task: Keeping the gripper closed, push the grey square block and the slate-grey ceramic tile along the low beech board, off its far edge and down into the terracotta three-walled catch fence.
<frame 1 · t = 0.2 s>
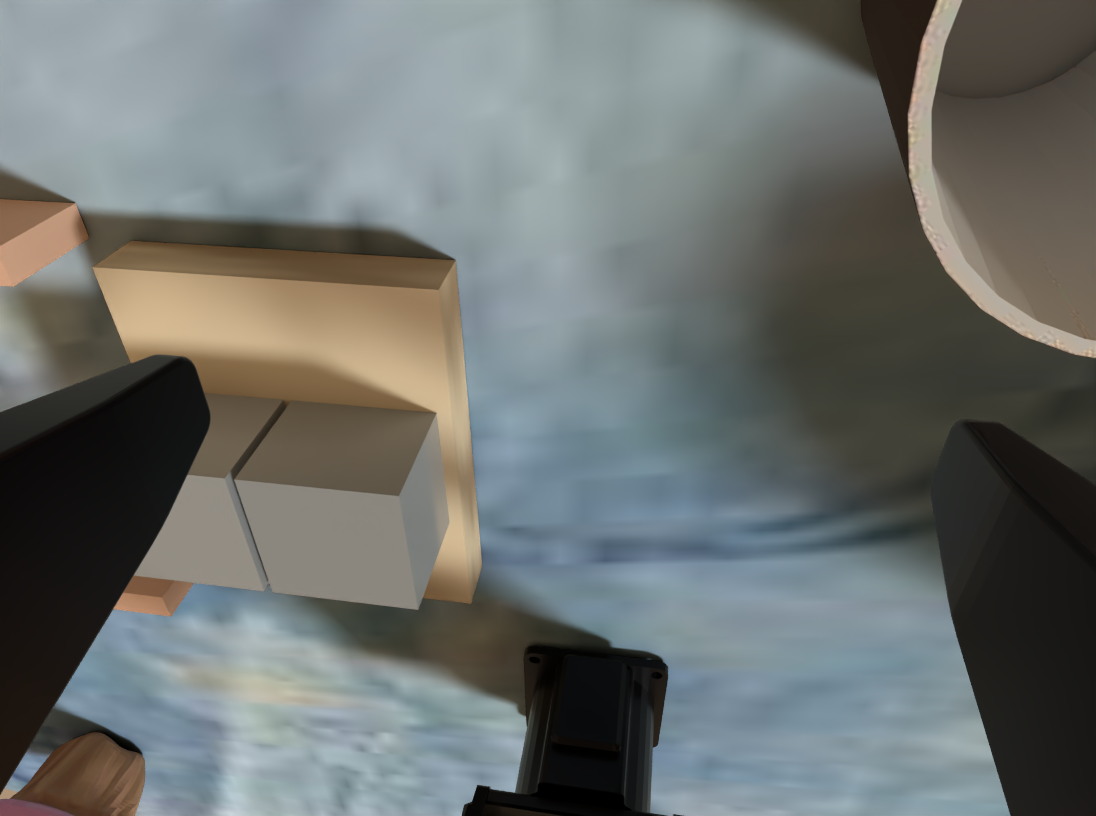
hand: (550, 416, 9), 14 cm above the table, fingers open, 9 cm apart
tile b: (232, 450, 27), point 2 cm above the table, touching bench board
bench board: (328, 423, 28), on the table
grey square block: (374, 463, 26), point 2 cm above the table, touching bench board
cupcake: (116, 745, 47), on the table
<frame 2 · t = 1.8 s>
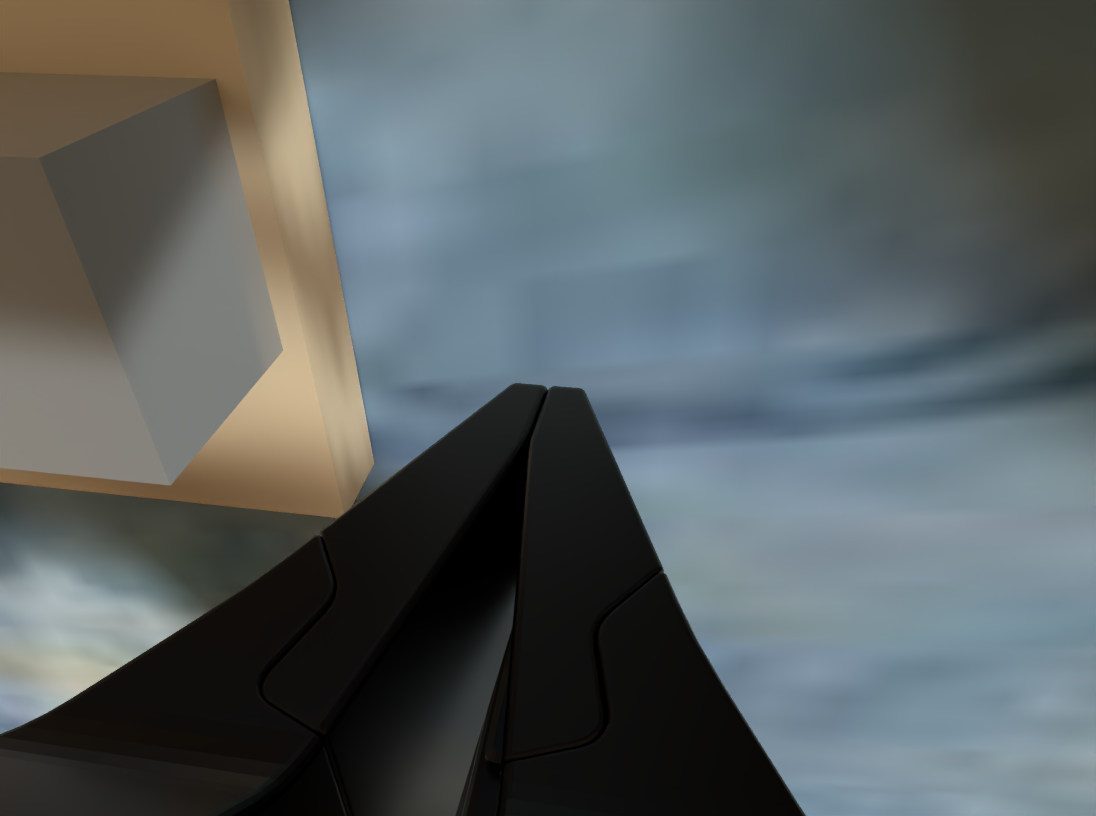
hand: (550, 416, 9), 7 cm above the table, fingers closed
bench board: (70, 179, 15), on the table
grey square block: (123, 222, 14), point 2 cm above the table, touching bench board
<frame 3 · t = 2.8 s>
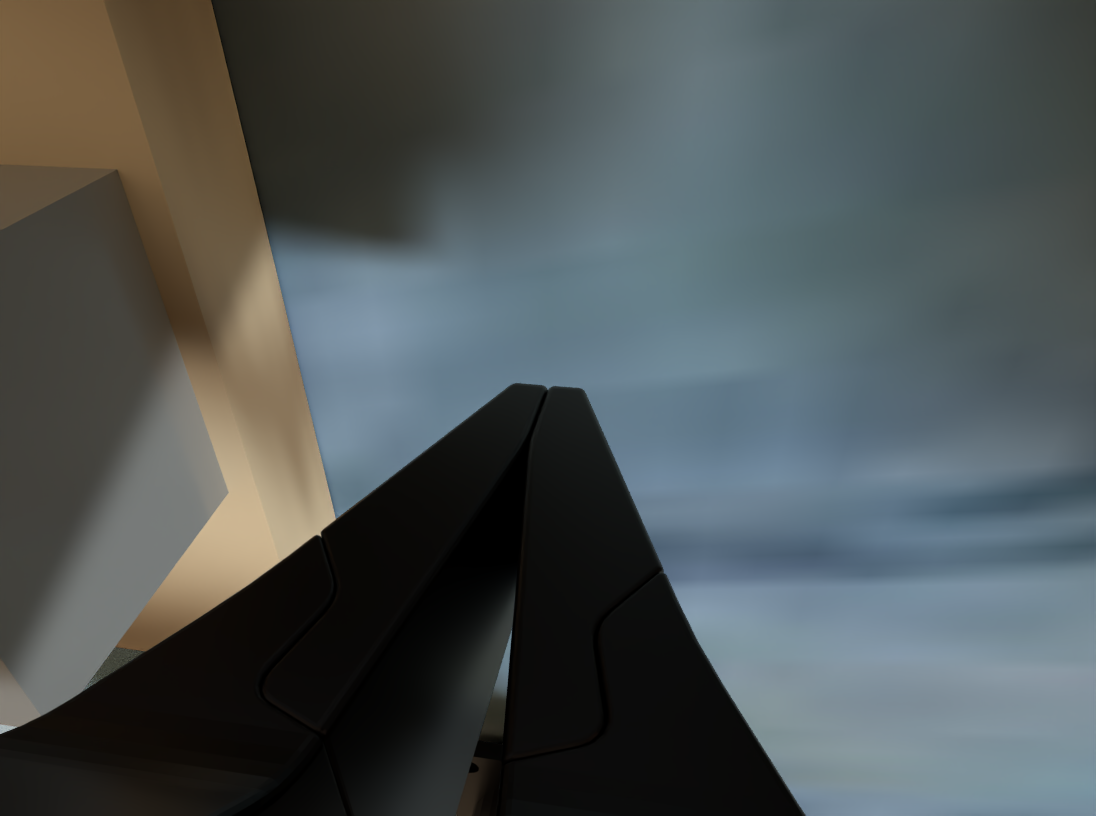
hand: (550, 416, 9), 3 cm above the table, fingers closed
grey square block: (14, 341, 10), point 2 cm above the table, touching bench board
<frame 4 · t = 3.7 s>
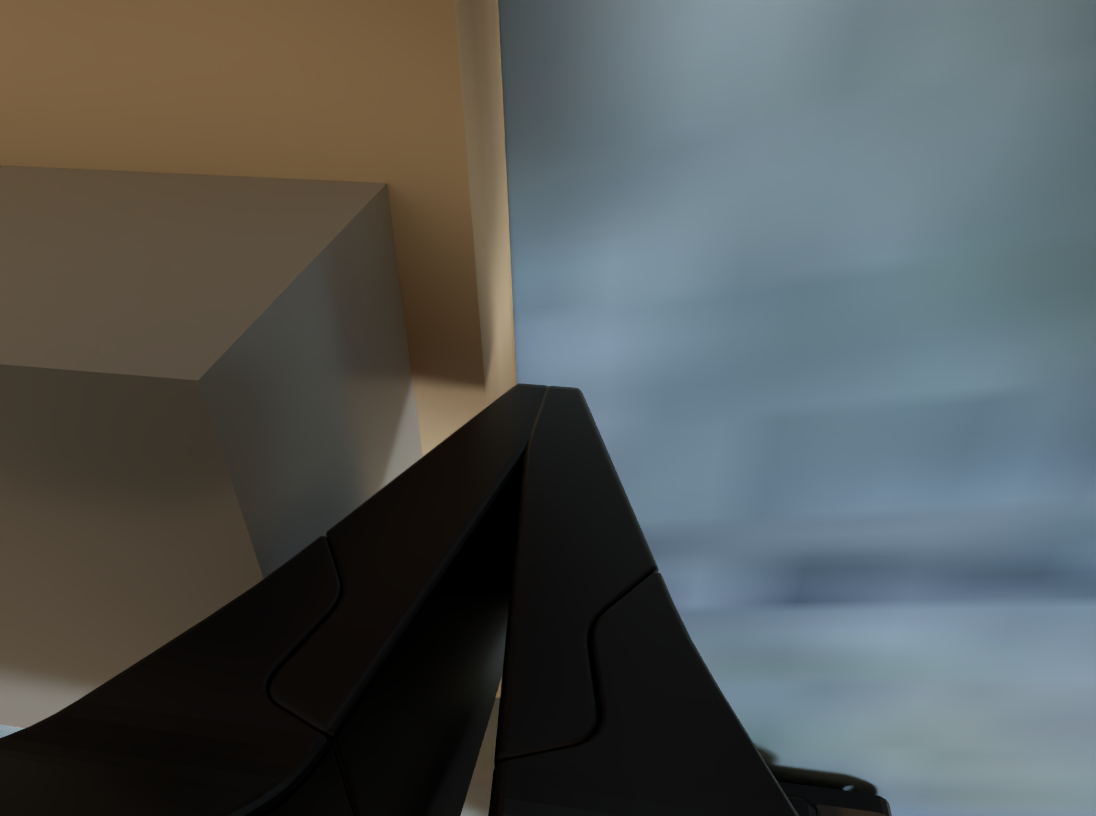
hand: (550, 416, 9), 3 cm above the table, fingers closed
bench board: (174, 287, 12), on the table
grey square block: (231, 359, 10), point 2 cm above the table, touching gripper
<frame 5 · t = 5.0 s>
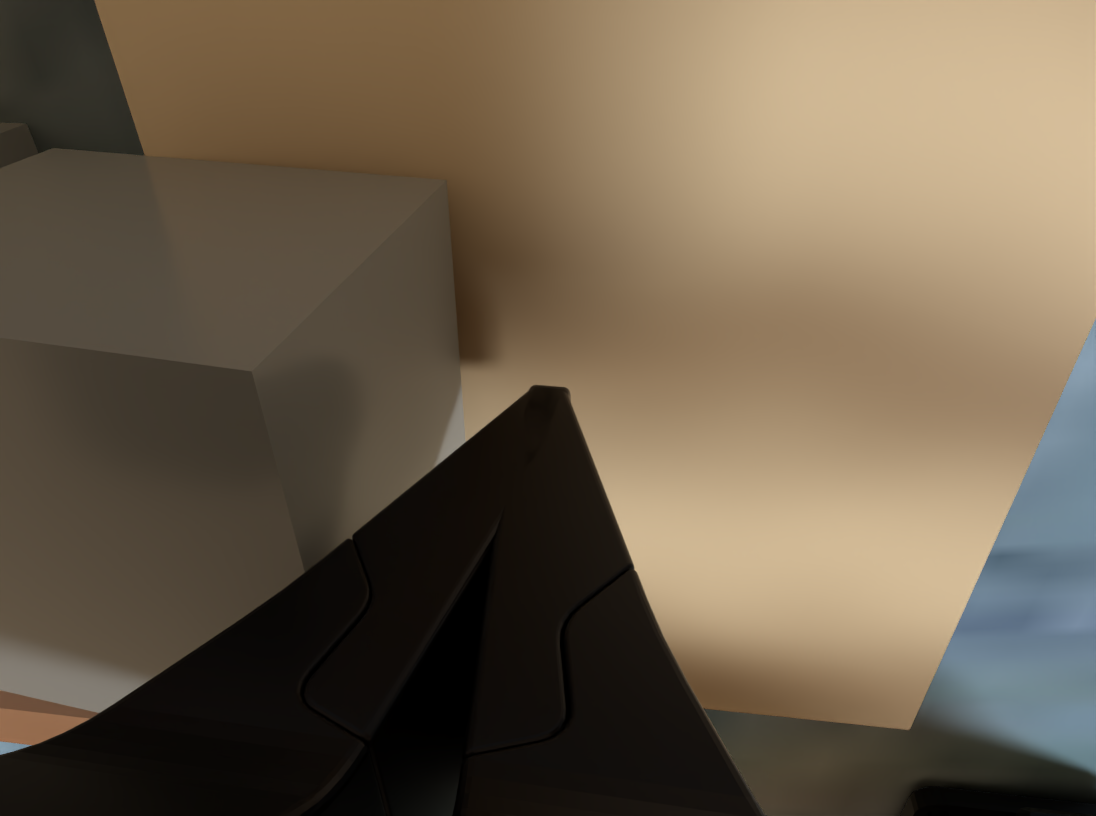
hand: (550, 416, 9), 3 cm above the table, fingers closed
bench board: (614, 306, 11), on the table
grey square block: (282, 350, 10), point 2 cm above the table, tilted 5°, touching bench board, gripper
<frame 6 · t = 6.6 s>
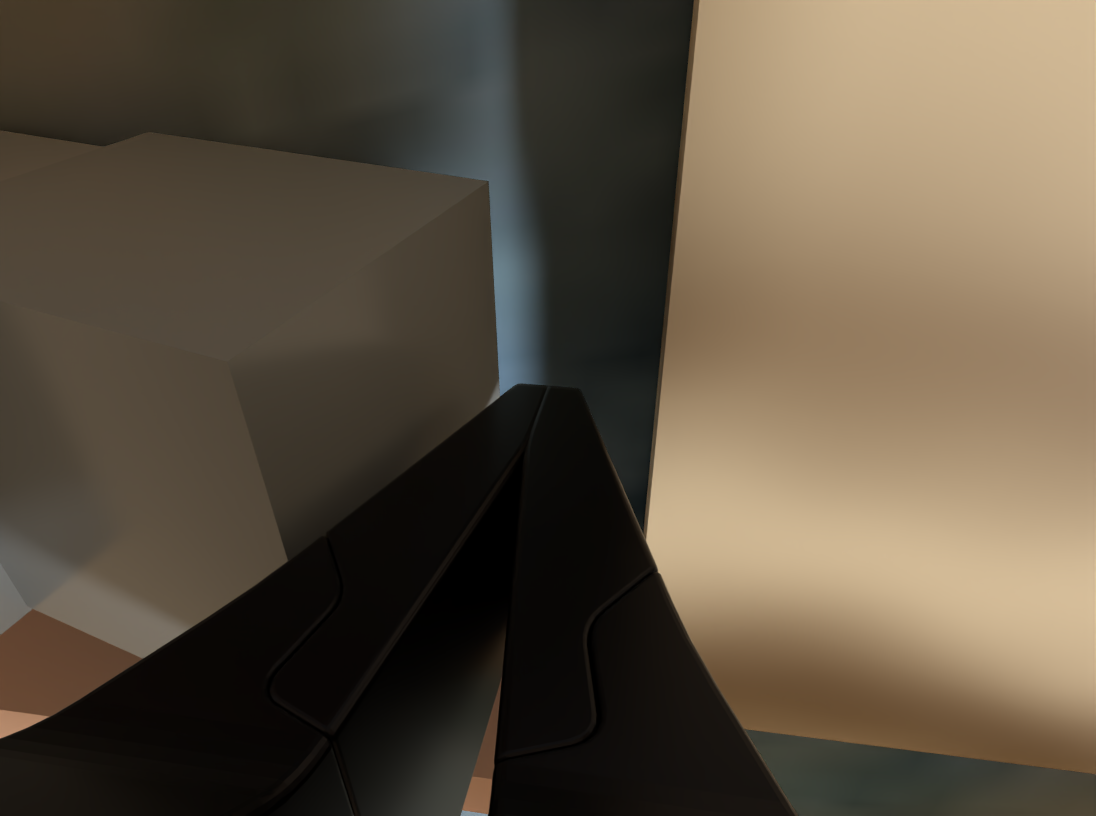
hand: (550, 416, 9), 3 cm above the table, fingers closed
tile b: (23, 414, 9), point 3 cm above the table, tilted 105°, touching grey square block
bench board: (1069, 339, 10), on the table
grey square block: (338, 334, 10), point 1 cm above the table, tilted 15°, touching gripper, tile b
catch fence: (120, 279, 12), on the table
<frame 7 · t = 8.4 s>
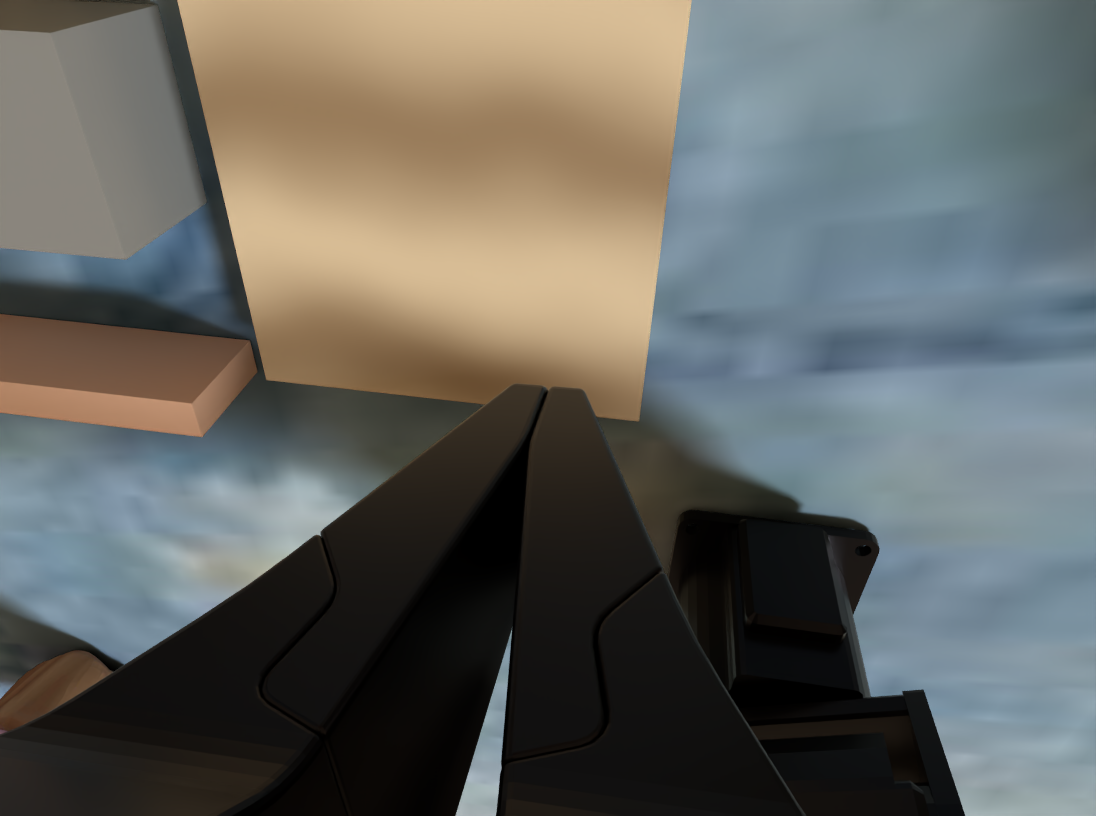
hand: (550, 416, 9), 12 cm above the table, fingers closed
bench board: (453, 131, 19), on the table
grey square block: (100, 103, 20), on the table
cupcake: (103, 671, 38), on the table
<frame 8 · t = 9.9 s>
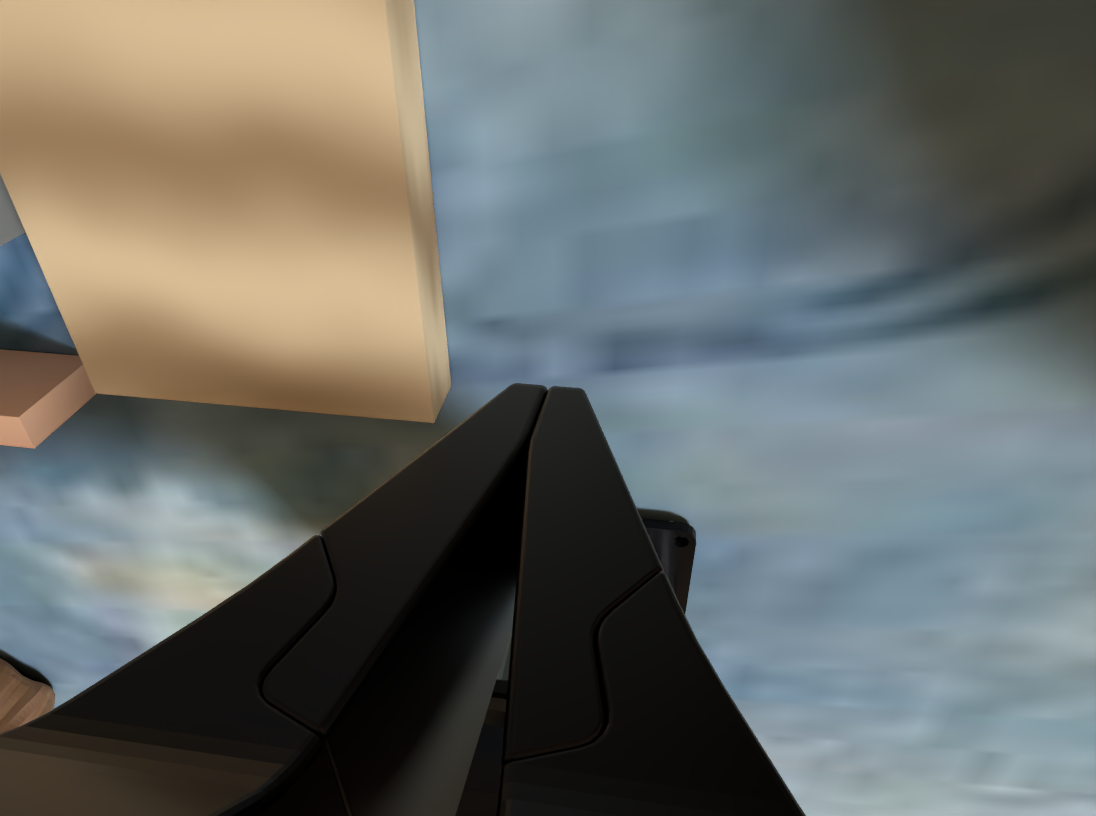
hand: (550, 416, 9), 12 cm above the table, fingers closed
bench board: (234, 157, 20), on the table
cupcake: (21, 677, 39), on the table
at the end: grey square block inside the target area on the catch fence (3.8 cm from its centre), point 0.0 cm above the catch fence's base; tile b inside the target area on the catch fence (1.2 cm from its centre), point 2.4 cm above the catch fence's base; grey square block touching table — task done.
